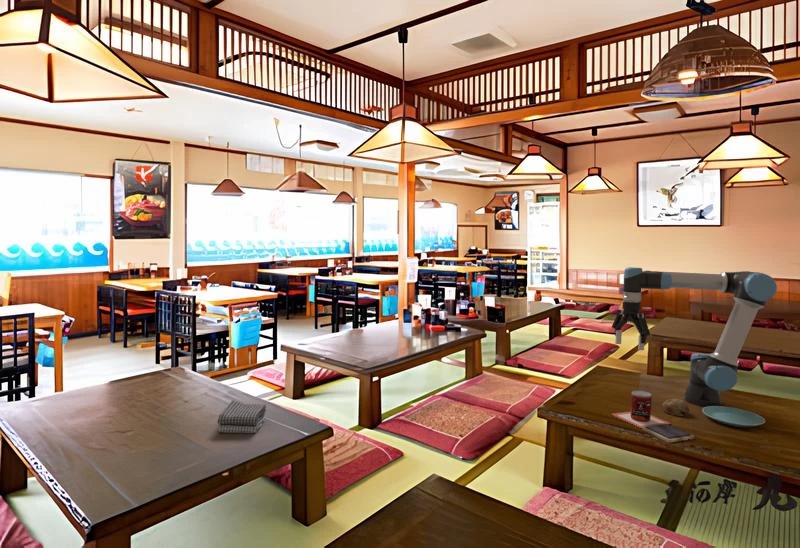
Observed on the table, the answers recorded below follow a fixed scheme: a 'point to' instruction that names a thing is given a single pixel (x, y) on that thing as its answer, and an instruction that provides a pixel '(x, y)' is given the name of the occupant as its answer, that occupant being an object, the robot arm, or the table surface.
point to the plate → (733, 416)
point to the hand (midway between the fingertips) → (629, 347)
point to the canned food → (641, 406)
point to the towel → (241, 418)
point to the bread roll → (675, 407)
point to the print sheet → (627, 417)
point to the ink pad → (668, 433)
